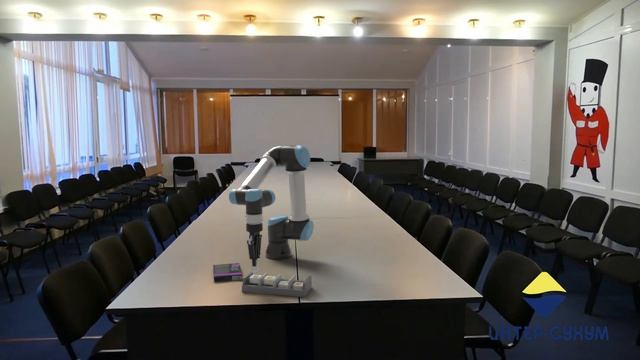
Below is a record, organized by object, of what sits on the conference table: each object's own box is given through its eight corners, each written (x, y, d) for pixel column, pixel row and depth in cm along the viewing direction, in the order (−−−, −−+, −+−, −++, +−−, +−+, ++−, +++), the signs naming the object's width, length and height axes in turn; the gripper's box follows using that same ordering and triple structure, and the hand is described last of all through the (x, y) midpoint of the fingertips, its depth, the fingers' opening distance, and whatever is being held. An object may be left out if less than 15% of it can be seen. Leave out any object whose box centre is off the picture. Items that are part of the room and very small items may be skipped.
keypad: (251, 282, 216) (251, 270, 215) (311, 287, 208) (311, 275, 208) (241, 291, 204) (241, 279, 203) (304, 297, 197) (304, 284, 196)
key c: (295, 287, 206) (295, 281, 206) (304, 287, 205) (304, 282, 205) (292, 290, 202) (292, 284, 202) (302, 291, 201) (302, 285, 201)
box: (242, 281, 220) (239, 268, 239) (242, 274, 220) (239, 261, 238) (213, 283, 217) (213, 270, 235) (213, 276, 216) (213, 263, 235)
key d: (267, 280, 209) (267, 275, 209) (275, 281, 208) (275, 275, 208) (263, 284, 205) (263, 278, 205) (272, 284, 204) (272, 279, 204)
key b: (253, 279, 211) (253, 274, 211) (261, 280, 210) (261, 274, 210) (249, 282, 207) (249, 277, 206) (258, 283, 206) (258, 278, 205)
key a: (281, 285, 208) (281, 280, 208) (290, 286, 207) (290, 281, 206) (278, 289, 204) (278, 283, 203) (287, 290, 203) (287, 284, 202)
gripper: (252, 219, 212) (253, 267, 215) (240, 225, 199) (242, 276, 202) (267, 220, 210) (267, 268, 213) (256, 226, 198) (257, 277, 200)
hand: (255, 272), depth 208 cm, fingers closed
